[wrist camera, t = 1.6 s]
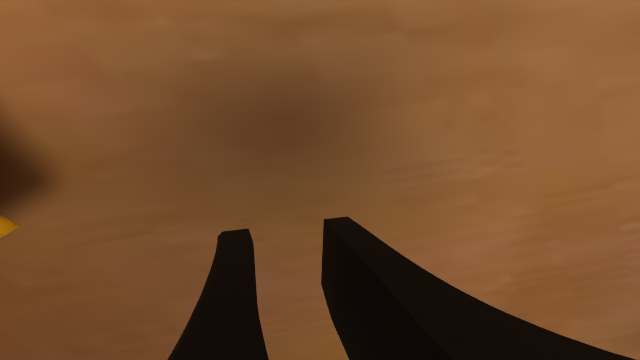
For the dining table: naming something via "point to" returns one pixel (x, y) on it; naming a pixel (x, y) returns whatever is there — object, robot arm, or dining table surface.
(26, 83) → the dining table surface
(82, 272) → the dining table surface
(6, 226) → the hamburger
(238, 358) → the robot arm
